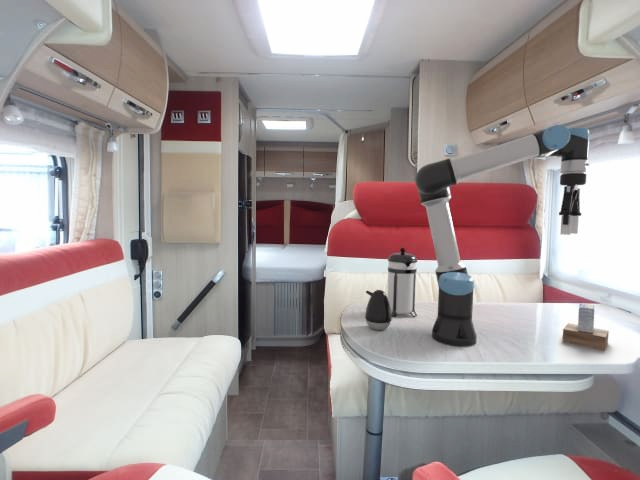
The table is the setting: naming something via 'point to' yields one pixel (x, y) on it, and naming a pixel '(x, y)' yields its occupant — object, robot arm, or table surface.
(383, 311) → the pump dispenser
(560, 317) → the table surface
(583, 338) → the walnut block
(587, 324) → the medicine box
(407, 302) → the coffee press
